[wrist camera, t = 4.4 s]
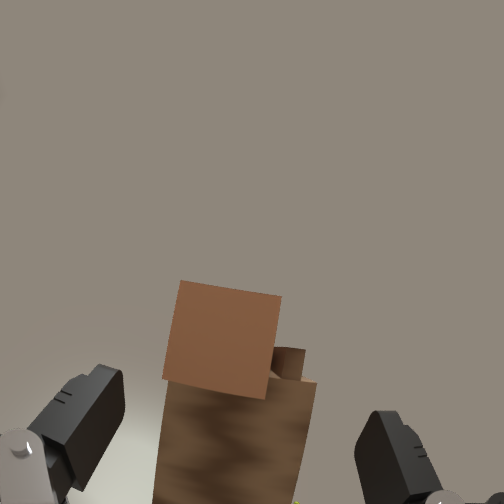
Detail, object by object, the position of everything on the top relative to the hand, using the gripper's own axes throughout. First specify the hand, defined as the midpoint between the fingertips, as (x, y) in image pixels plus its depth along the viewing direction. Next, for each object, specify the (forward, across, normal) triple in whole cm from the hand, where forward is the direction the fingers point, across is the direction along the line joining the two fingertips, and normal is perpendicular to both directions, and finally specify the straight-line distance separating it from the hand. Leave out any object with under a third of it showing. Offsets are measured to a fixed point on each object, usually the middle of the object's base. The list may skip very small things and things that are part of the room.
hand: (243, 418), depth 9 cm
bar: (+10, 0, +5) cm, 12 cm away
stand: (-2, 0, +35) cm, 35 cm away
